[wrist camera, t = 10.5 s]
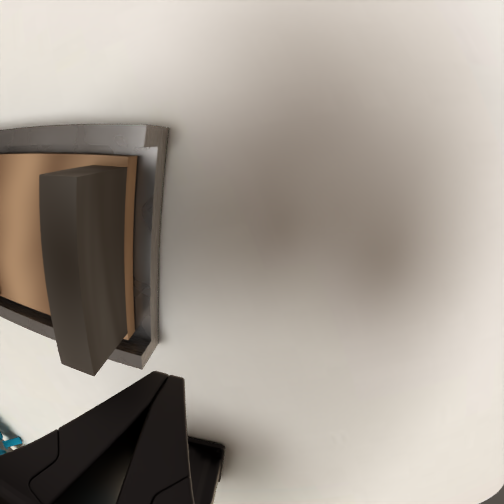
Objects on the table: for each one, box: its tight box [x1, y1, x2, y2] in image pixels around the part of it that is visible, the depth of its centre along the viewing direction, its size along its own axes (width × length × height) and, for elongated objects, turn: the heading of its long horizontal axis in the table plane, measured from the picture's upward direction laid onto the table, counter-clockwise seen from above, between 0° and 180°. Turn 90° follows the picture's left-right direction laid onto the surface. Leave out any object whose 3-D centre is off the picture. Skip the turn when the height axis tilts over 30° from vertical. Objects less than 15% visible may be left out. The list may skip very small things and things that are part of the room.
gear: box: [0, 432, 22, 455], centre depth 27 cm, size 11×6×10 cm
